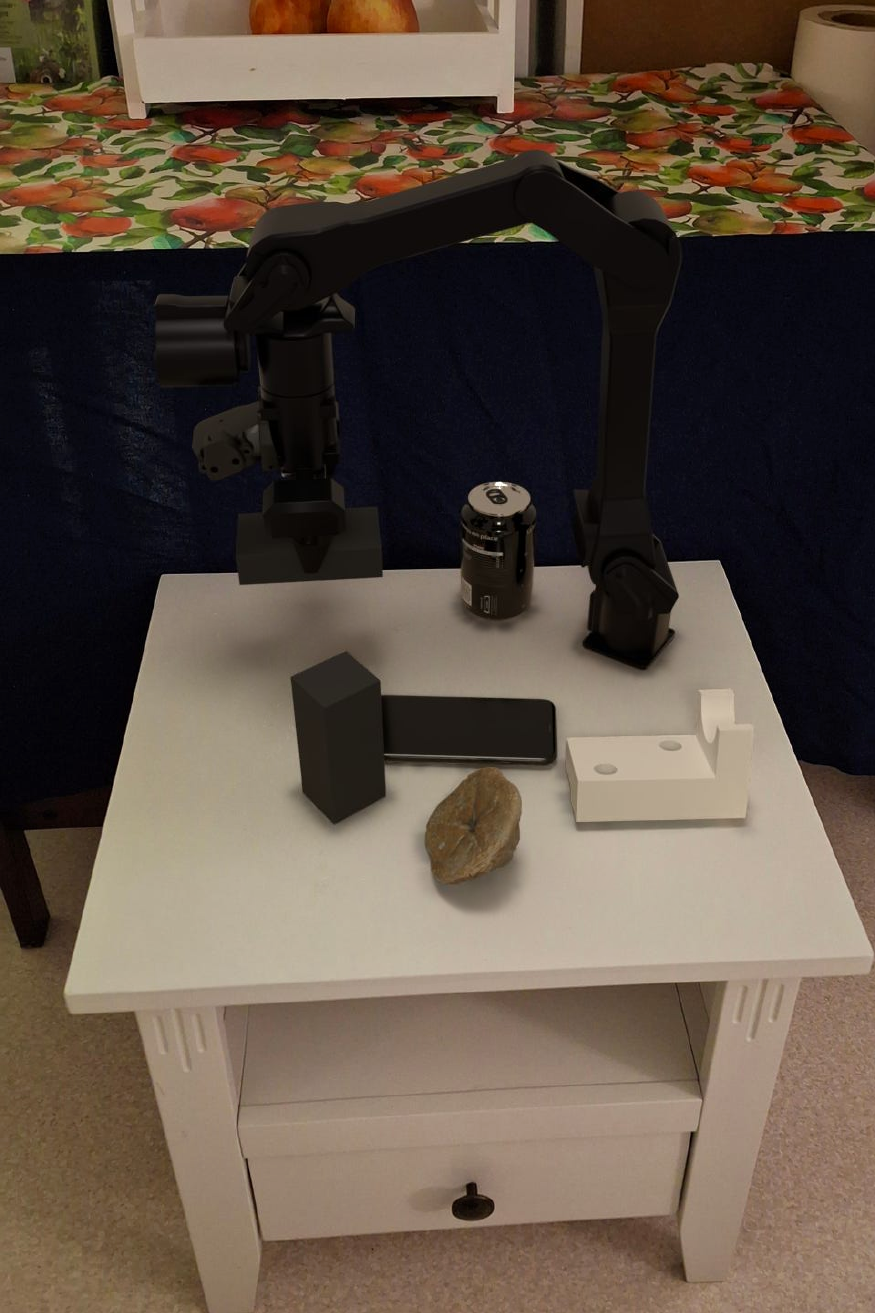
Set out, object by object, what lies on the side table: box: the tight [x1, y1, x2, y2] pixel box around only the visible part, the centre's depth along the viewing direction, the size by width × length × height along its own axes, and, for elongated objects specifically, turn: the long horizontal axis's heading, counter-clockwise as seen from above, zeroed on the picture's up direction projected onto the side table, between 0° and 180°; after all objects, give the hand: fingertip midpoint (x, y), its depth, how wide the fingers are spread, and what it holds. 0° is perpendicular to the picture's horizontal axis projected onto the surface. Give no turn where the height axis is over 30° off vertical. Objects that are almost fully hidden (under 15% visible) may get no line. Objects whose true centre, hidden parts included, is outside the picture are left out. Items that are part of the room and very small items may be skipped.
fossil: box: [424, 766, 523, 886], centre depth 90 cm, size 9×4×10 cm
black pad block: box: [289, 650, 387, 825], centre depth 93 cm, size 5×4×12 cm
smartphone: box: [381, 694, 558, 767], centre depth 102 cm, size 8×1×16 cm
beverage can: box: [460, 481, 538, 622], centre depth 113 cm, size 7×7×12 cm
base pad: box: [235, 506, 384, 586], centre depth 104 cm, size 12×6×3 cm, turn 95°
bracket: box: [565, 688, 756, 823], centre depth 95 cm, size 13×7×8 cm, turn 92°
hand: (310, 549), depth 104 cm, fingers closed on base pad, 6 cm apart
